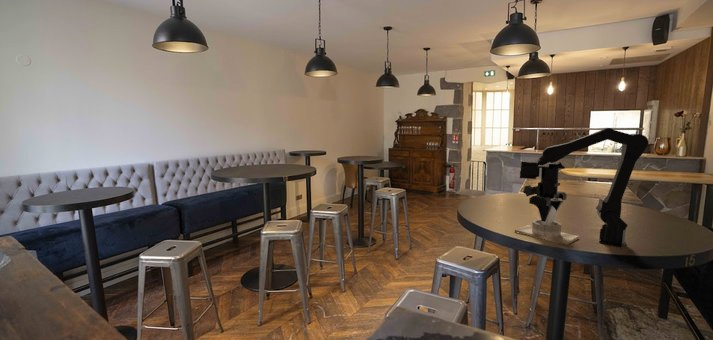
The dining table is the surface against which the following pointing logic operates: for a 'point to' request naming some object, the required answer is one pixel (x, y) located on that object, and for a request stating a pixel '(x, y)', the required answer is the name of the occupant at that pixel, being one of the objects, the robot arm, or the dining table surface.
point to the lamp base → (556, 239)
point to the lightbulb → (549, 217)
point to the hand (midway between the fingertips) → (547, 219)
